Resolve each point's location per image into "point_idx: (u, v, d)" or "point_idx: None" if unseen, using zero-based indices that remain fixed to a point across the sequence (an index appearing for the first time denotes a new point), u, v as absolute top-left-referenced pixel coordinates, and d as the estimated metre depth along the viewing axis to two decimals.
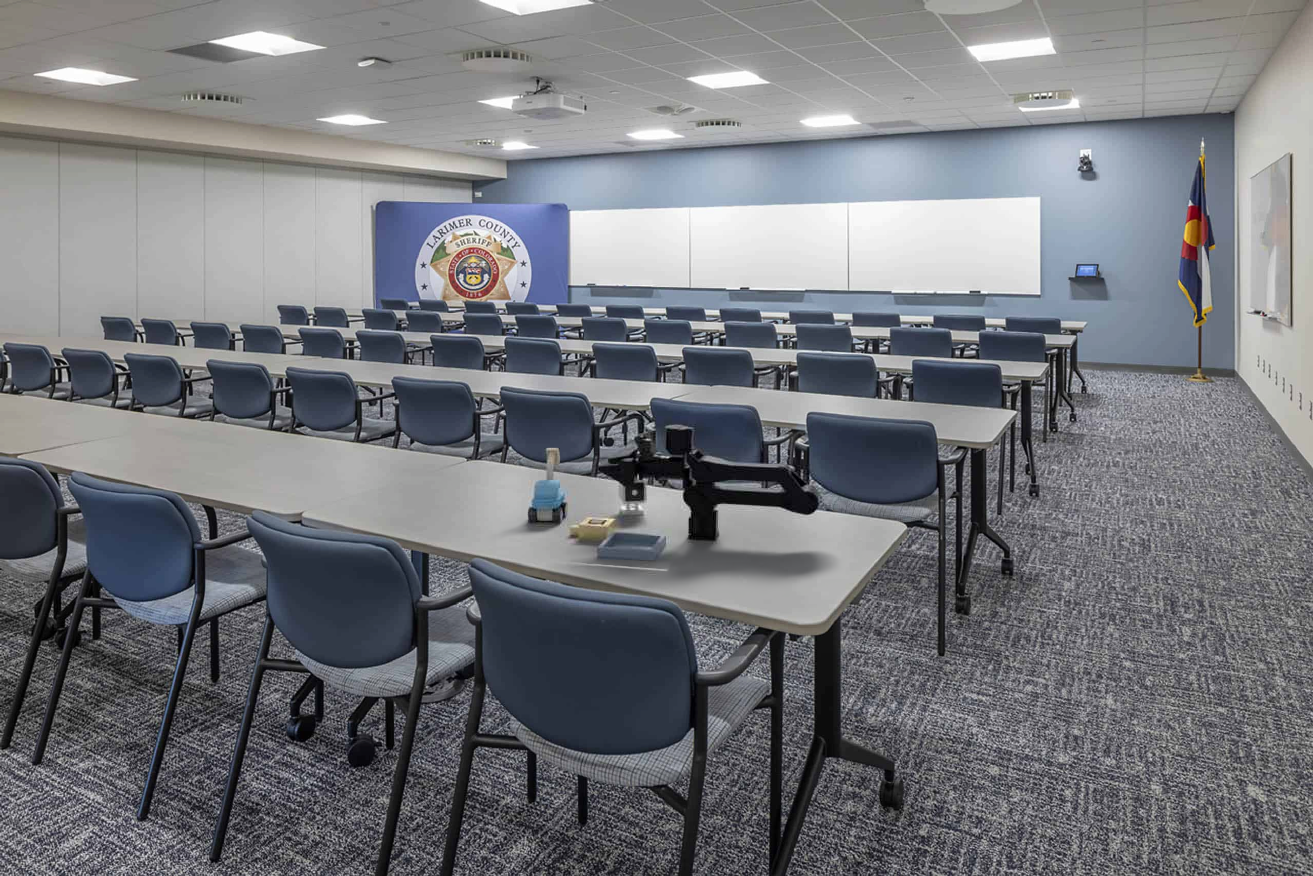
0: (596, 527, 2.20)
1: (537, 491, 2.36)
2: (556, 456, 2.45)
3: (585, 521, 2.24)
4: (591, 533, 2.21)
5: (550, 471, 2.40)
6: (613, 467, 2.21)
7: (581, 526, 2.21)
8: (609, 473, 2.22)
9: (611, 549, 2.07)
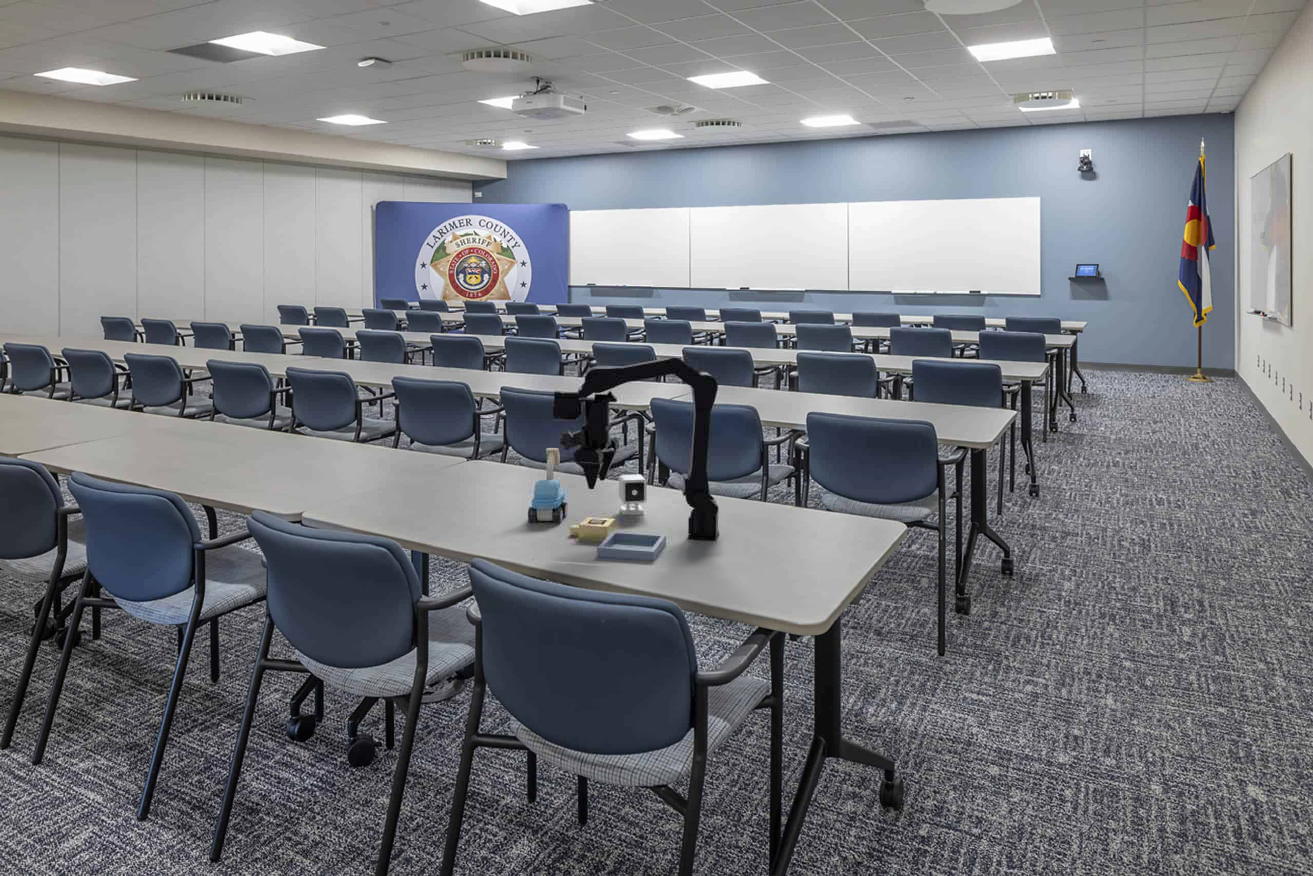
0: (596, 527, 2.20)
1: (537, 491, 2.36)
2: (556, 456, 2.45)
3: (585, 521, 2.24)
4: (591, 533, 2.21)
5: (550, 471, 2.40)
6: (585, 472, 2.16)
7: (581, 526, 2.21)
8: (594, 477, 2.16)
9: (611, 549, 2.07)
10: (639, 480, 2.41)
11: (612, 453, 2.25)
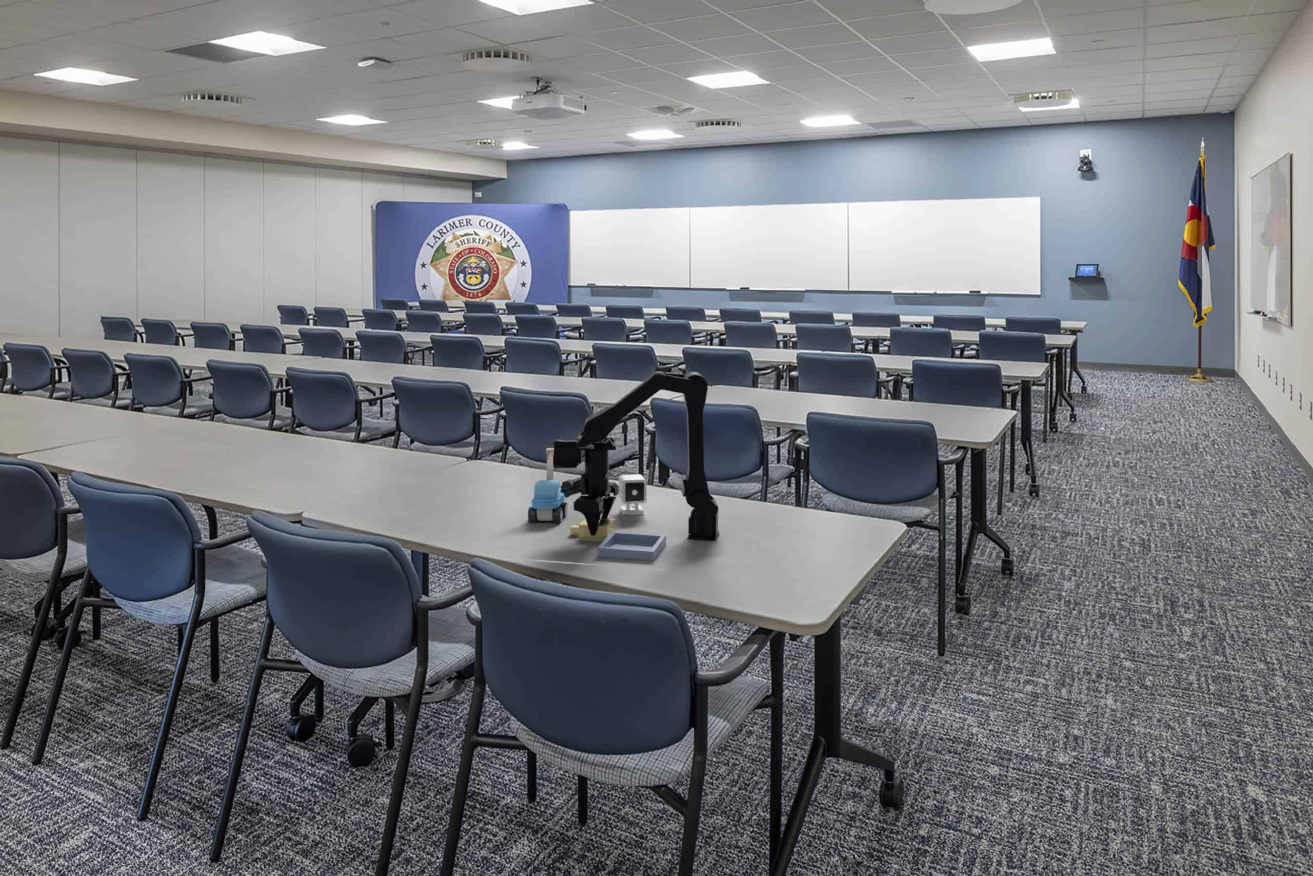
0: None
1: (537, 491, 2.36)
2: None
3: (585, 521, 2.24)
4: None
5: (550, 471, 2.40)
6: (587, 519, 2.19)
7: (581, 526, 2.21)
8: (595, 524, 2.19)
9: (611, 549, 2.07)
10: (639, 480, 2.41)
11: (611, 500, 2.26)
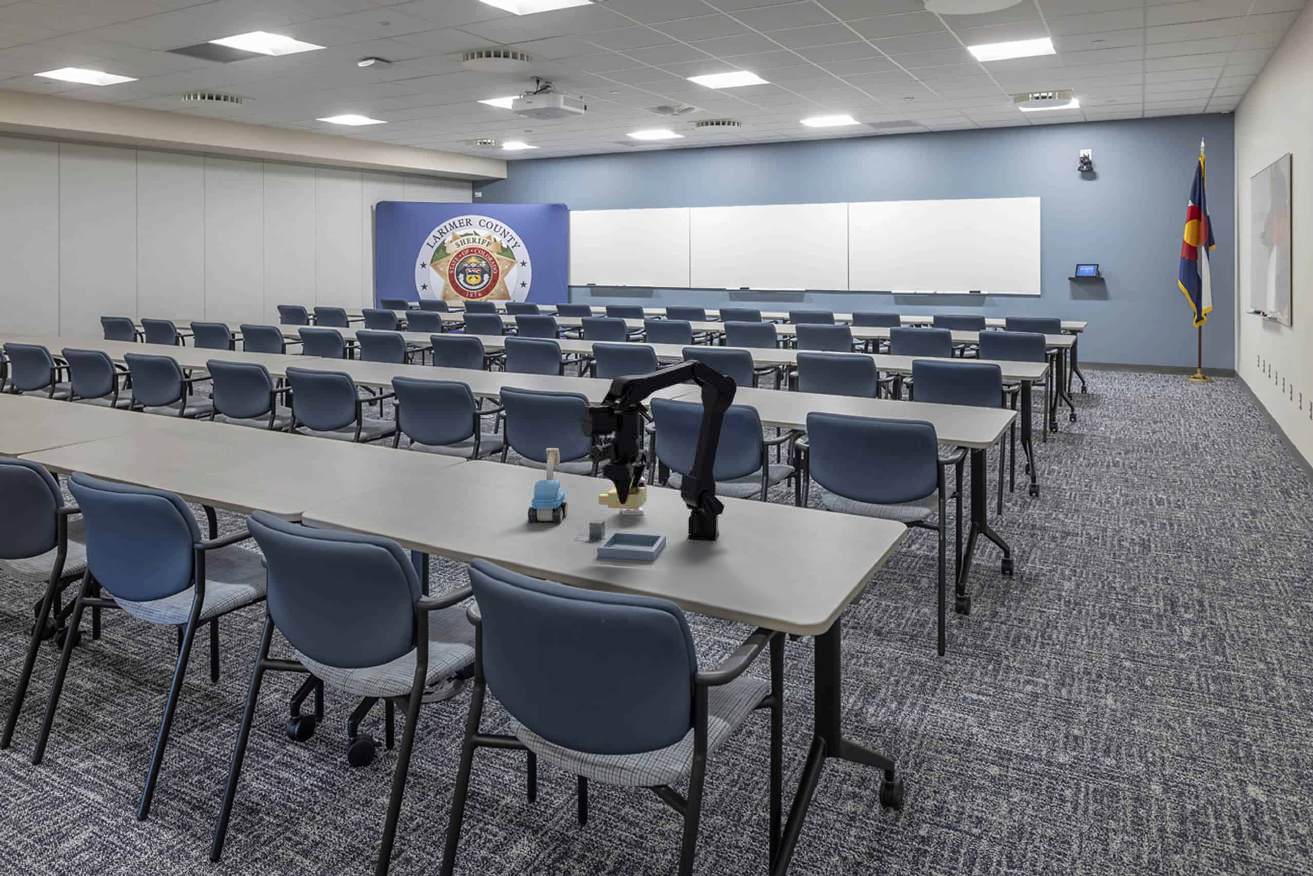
0: None
1: (537, 491, 2.36)
2: (556, 456, 2.45)
3: (614, 489, 2.13)
4: None
5: (550, 471, 2.40)
6: (617, 486, 2.07)
7: (610, 494, 2.10)
8: (625, 491, 2.08)
9: (611, 549, 2.07)
10: None
11: (642, 467, 2.15)
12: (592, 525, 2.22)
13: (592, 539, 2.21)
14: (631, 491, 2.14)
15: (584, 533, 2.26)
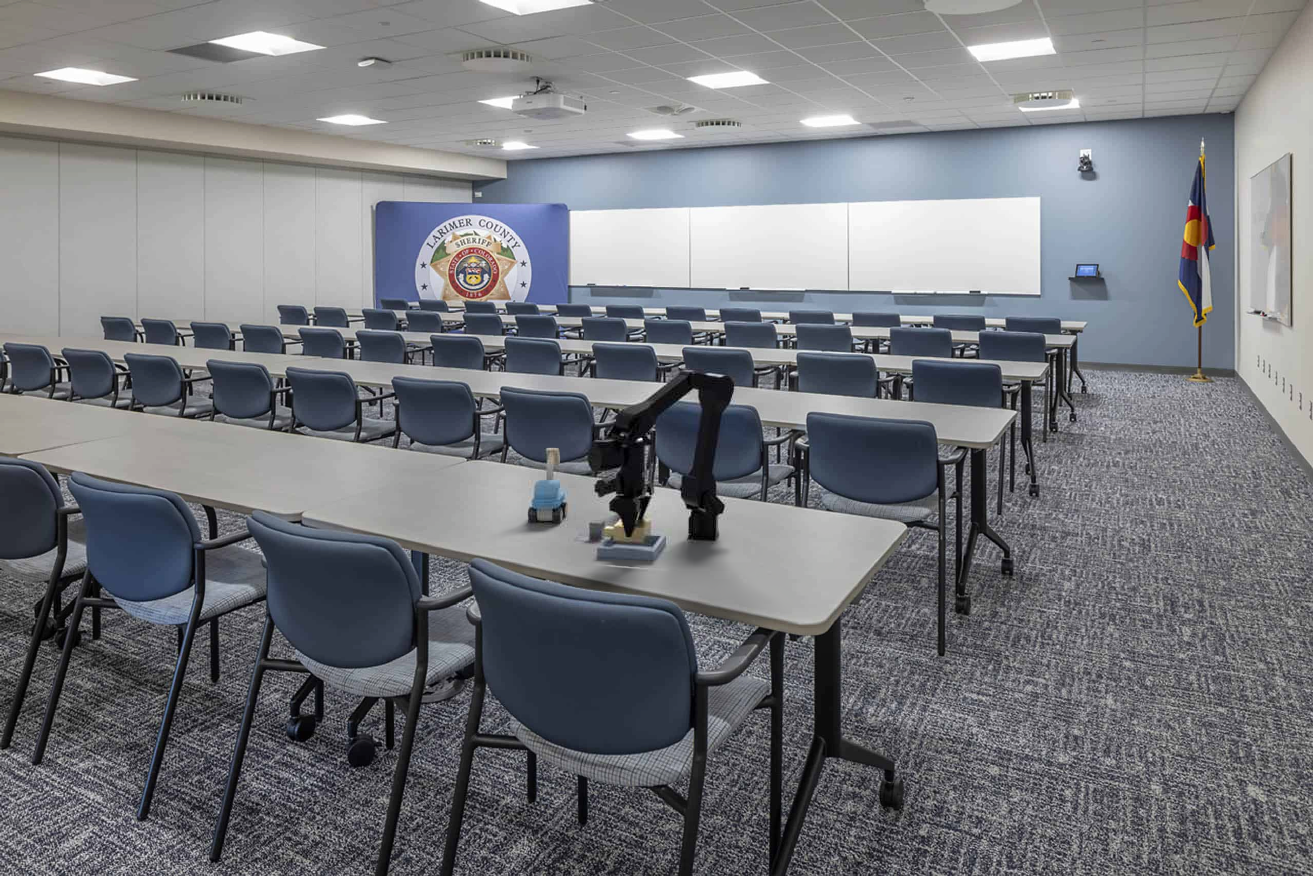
0: None
1: (537, 491, 2.36)
2: (556, 456, 2.45)
3: (620, 522, 2.12)
4: None
5: (550, 471, 2.40)
6: (623, 519, 2.07)
7: (616, 527, 2.09)
8: (631, 525, 2.07)
9: (611, 549, 2.07)
10: None
11: (647, 500, 2.15)
12: (592, 525, 2.22)
13: (592, 539, 2.21)
14: (636, 523, 2.14)
15: (584, 533, 2.26)
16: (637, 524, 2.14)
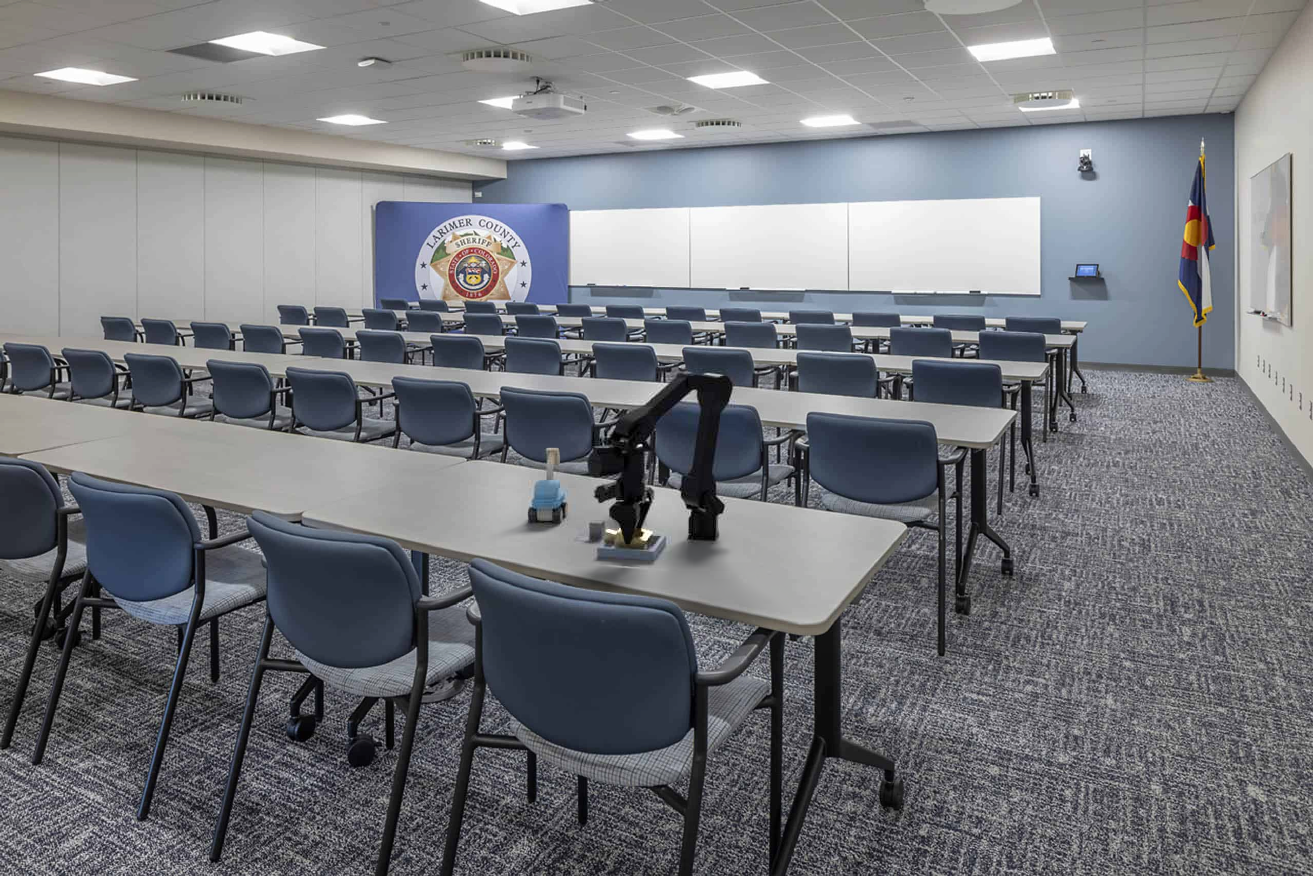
0: (634, 539, 2.09)
1: (537, 491, 2.36)
2: (556, 456, 2.45)
3: None
4: None
5: (550, 471, 2.40)
6: (622, 527, 2.06)
7: (618, 534, 2.10)
8: (630, 532, 2.07)
9: (611, 549, 2.07)
10: None
11: (647, 504, 2.16)
12: (592, 525, 2.22)
13: (592, 539, 2.21)
14: (638, 533, 2.14)
15: (584, 533, 2.26)
16: (639, 534, 2.14)
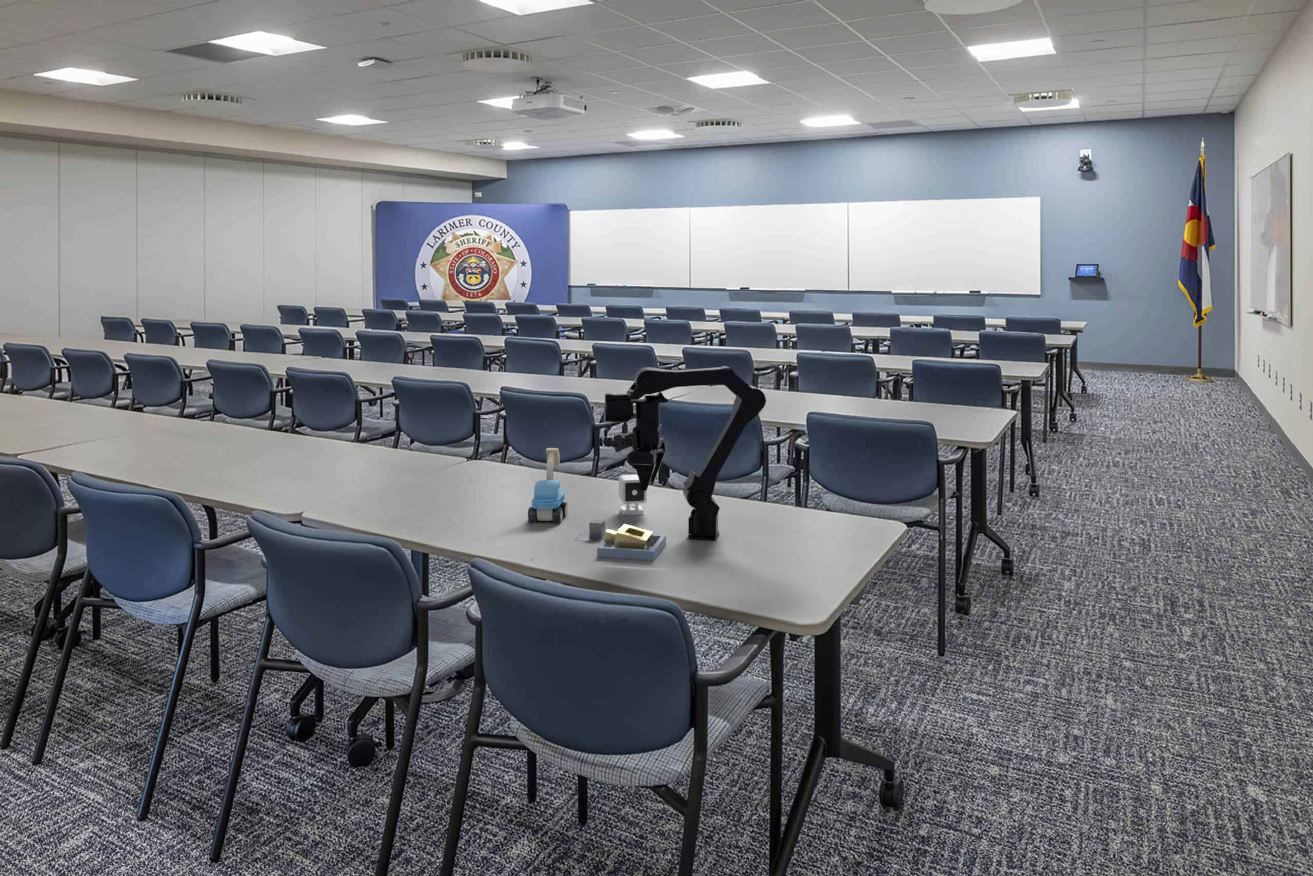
0: (634, 539, 2.09)
1: (537, 491, 2.36)
2: (556, 456, 2.45)
3: (622, 529, 2.13)
4: (627, 543, 2.10)
5: (550, 471, 2.40)
6: (639, 473, 2.15)
7: (618, 534, 2.10)
8: (647, 478, 2.16)
9: (611, 549, 2.07)
10: None
11: (662, 454, 2.25)
12: (592, 525, 2.22)
13: (592, 539, 2.21)
14: (638, 533, 2.14)
15: (584, 533, 2.26)
16: (639, 534, 2.14)
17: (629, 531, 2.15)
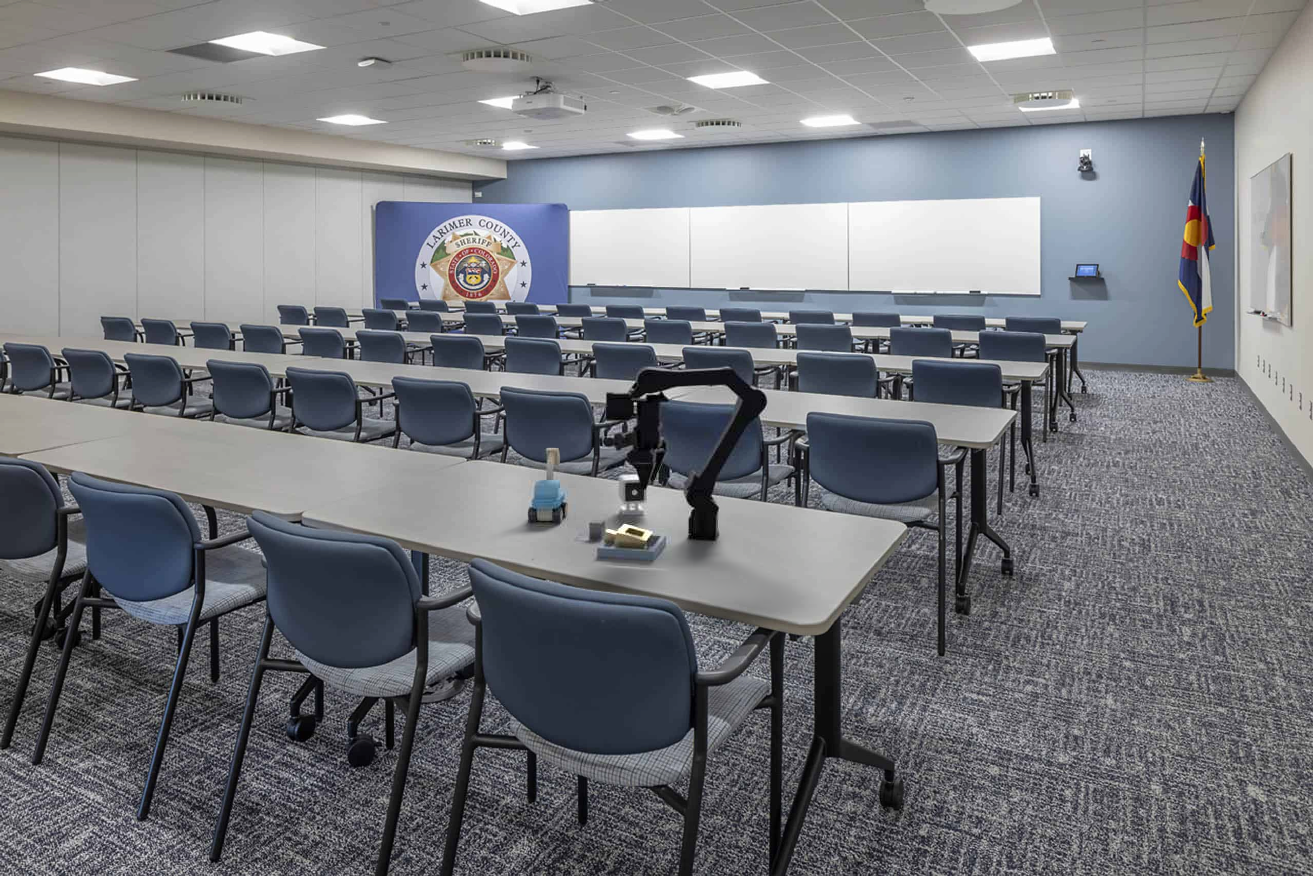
0: (634, 539, 2.09)
1: (537, 491, 2.36)
2: (556, 456, 2.45)
3: (622, 529, 2.13)
4: (627, 543, 2.10)
5: (550, 471, 2.40)
6: (638, 472, 2.16)
7: (618, 534, 2.10)
8: (647, 477, 2.16)
9: (611, 549, 2.07)
10: None
11: (663, 453, 2.25)
12: (592, 525, 2.22)
13: (592, 539, 2.21)
14: (638, 533, 2.14)
15: (584, 533, 2.26)
16: (639, 534, 2.14)
17: (629, 531, 2.15)
